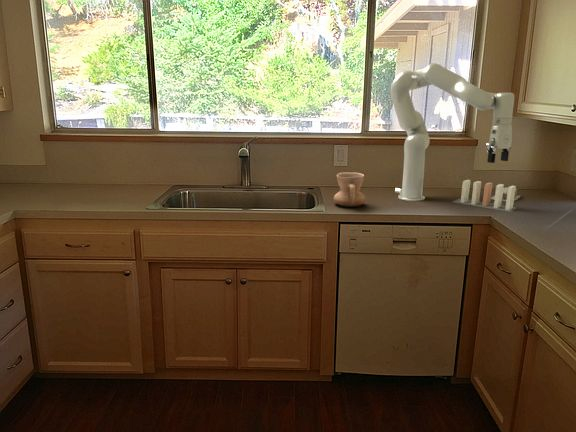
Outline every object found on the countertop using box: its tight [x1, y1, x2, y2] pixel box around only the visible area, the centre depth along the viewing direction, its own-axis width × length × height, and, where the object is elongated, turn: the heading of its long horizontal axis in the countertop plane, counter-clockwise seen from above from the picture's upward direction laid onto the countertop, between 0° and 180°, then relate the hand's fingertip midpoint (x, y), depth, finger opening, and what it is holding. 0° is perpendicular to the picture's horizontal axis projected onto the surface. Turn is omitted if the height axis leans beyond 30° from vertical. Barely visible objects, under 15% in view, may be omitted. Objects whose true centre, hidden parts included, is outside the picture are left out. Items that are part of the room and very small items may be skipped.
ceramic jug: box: [333, 172, 366, 208], centre depth 209 cm, size 18×14×14 cm
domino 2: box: [471, 180, 482, 204], centre depth 212 cm, size 2×5×10 cm, turn 137°
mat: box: [452, 197, 518, 213], centre depth 211 cm, size 26×10×1 cm, turn 47°
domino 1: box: [460, 179, 471, 203], centre depth 216 cm, size 2×5×10 cm, turn 137°
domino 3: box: [482, 182, 494, 206], centre depth 209 cm, size 2×5×10 cm, turn 136°
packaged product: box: [491, 186, 521, 202], centre depth 226 cm, size 18×5×10 cm
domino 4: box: [493, 183, 505, 208], centre depth 206 cm, size 2×5×10 cm, turn 137°
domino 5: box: [505, 185, 517, 210], centre depth 203 cm, size 2×5×10 cm, turn 138°
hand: (497, 161), depth 204 cm, fingers open, 9 cm apart
